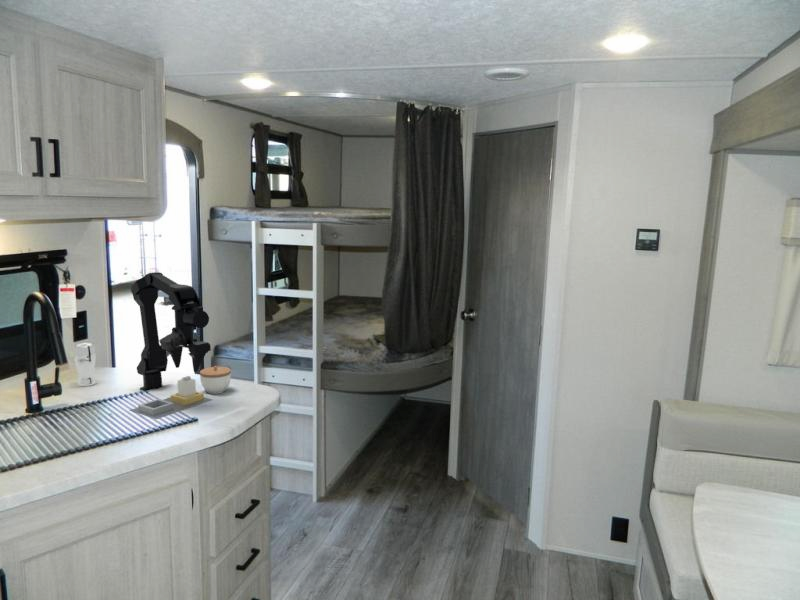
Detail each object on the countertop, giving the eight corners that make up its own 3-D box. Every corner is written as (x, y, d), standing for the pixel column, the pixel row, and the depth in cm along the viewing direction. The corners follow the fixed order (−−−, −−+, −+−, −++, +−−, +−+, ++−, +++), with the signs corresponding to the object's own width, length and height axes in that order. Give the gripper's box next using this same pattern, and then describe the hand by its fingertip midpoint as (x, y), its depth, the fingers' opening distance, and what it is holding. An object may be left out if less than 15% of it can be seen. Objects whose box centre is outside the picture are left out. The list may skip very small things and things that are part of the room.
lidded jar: (212, 397, 199) (211, 372, 197) (194, 391, 205) (193, 366, 204) (237, 390, 207) (236, 365, 206) (219, 384, 213) (219, 360, 212)
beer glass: (81, 381, 215) (78, 342, 213) (100, 380, 216) (98, 342, 213) (72, 386, 208) (69, 347, 206) (92, 386, 209) (90, 346, 206)
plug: (178, 400, 192) (177, 377, 191) (188, 397, 196) (187, 374, 195) (186, 402, 190) (185, 379, 189) (196, 399, 194) (195, 376, 193)
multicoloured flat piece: (129, 413, 182) (128, 404, 182) (186, 395, 201) (186, 386, 201) (156, 422, 175) (156, 412, 175) (213, 402, 194) (213, 394, 193)
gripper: (145, 324, 187) (147, 370, 189) (182, 331, 177) (184, 379, 180) (174, 319, 196) (176, 363, 199) (210, 325, 187) (212, 371, 189)
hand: (186, 369), depth 191 cm, fingers open, 9 cm apart
